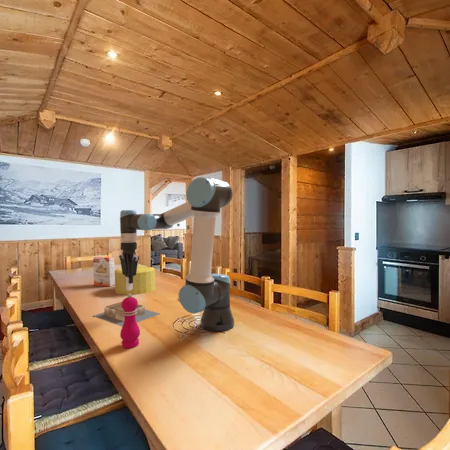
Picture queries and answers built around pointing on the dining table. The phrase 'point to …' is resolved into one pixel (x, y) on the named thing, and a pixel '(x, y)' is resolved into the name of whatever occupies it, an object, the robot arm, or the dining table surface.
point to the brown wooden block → (121, 311)
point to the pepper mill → (130, 323)
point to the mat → (140, 318)
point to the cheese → (136, 281)
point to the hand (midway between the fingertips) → (129, 289)
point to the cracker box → (104, 271)
